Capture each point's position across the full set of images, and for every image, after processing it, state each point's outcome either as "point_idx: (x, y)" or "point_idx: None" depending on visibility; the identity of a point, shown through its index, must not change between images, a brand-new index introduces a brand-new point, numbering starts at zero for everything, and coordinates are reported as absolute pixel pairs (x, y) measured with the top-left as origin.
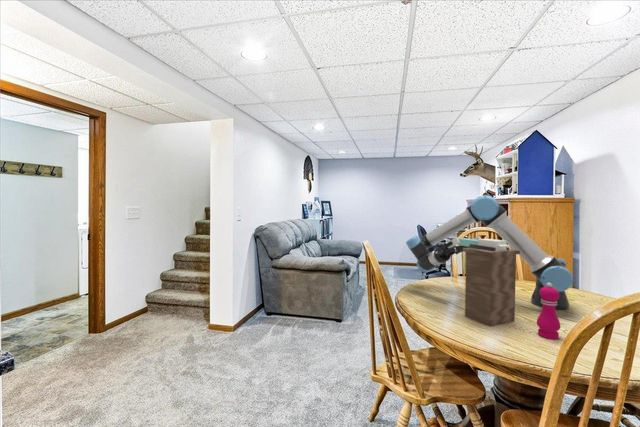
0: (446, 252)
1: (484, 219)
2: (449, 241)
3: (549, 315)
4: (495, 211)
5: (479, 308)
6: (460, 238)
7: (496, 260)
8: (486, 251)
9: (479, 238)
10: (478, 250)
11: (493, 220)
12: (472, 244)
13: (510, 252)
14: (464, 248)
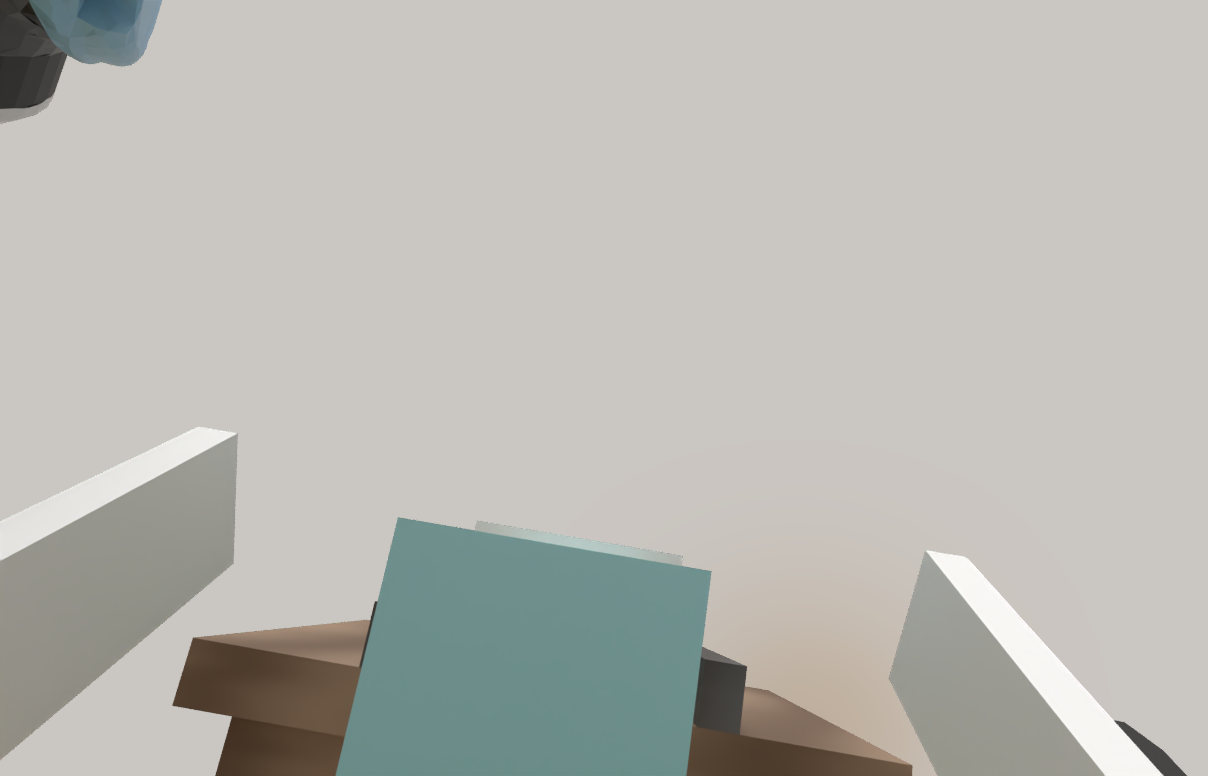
0: None
1: (76, 11)
2: (1126, 742)
3: None
4: (160, 2)
5: None
6: (591, 551)
7: None
8: (760, 695)
9: (229, 492)
10: (801, 711)
11: (40, 96)
12: (716, 658)
13: None
14: (894, 758)
